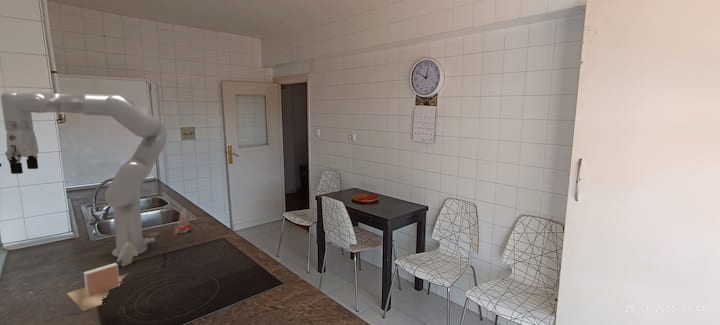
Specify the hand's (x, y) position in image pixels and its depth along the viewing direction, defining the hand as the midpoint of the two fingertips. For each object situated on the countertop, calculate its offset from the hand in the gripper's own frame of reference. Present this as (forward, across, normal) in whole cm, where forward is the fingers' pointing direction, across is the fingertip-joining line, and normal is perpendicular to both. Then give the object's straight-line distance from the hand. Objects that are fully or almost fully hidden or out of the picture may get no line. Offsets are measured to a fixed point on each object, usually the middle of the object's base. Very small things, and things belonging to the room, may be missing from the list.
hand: (25, 171), depth 133 cm
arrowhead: (+37, -13, -35) cm, 53 cm away
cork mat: (+37, -33, -35) cm, 60 cm away
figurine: (+37, +22, -48) cm, 65 cm away
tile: (+36, -32, -34) cm, 59 cm away
